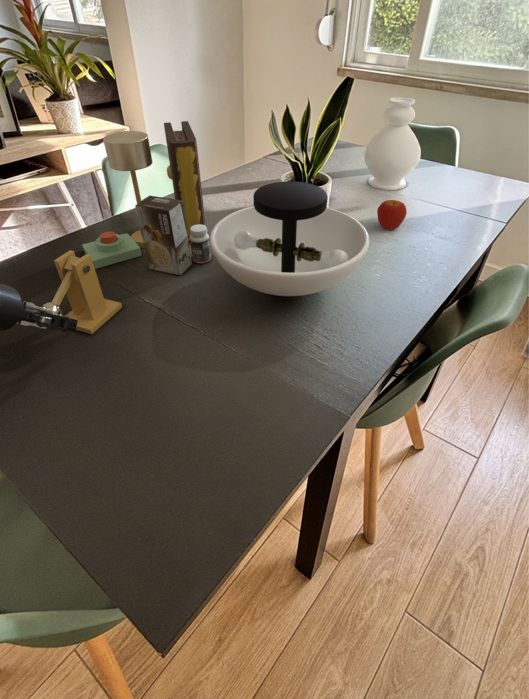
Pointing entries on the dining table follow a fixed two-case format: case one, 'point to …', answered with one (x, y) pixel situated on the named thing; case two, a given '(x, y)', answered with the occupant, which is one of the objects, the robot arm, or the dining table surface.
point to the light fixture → (289, 241)
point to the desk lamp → (129, 160)
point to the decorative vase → (393, 147)
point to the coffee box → (164, 234)
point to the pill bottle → (200, 244)
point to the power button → (108, 237)
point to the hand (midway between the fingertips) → (57, 320)
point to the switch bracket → (86, 294)
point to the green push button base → (112, 250)
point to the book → (185, 172)
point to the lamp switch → (62, 288)
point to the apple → (391, 214)
